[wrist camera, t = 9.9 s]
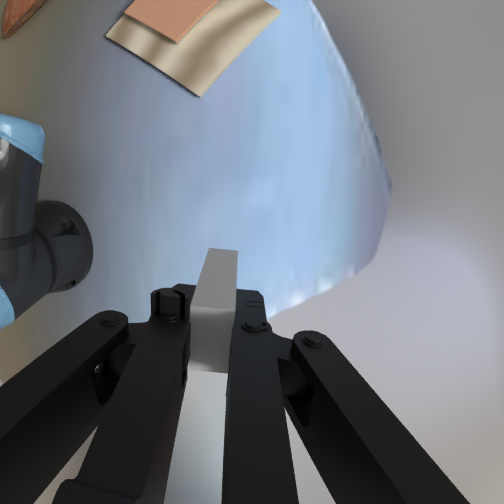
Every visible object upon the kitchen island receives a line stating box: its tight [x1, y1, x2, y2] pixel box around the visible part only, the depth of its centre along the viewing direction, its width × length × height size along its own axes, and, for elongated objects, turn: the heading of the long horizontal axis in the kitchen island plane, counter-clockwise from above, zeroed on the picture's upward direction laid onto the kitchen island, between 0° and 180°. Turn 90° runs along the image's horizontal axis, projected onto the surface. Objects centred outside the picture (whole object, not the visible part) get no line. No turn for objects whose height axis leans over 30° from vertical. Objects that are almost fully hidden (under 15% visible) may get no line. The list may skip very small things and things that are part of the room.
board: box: [106, 0, 281, 98], centre depth 36 cm, size 20×18×1 cm
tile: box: [124, 0, 218, 45], centre depth 34 cm, size 2×9×11 cm
